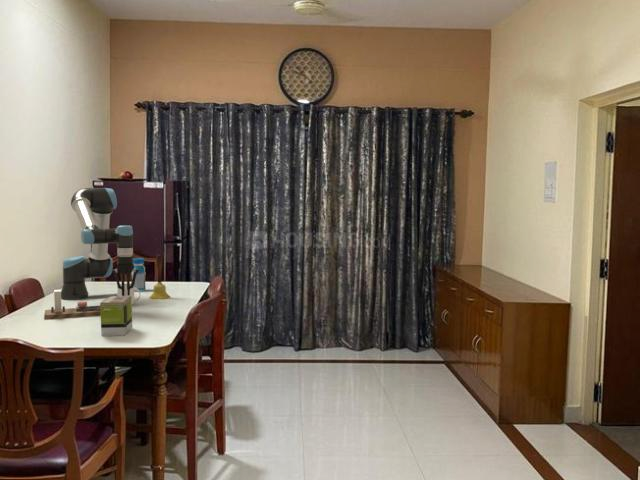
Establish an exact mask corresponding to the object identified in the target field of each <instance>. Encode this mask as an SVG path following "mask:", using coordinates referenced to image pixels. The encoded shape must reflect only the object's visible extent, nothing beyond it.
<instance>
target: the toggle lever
mask: <svg viewBox="0 0 640 480" xmlns="http://www.w3.org/2000/svg"><path fill="white" fill-rule="evenodd" d="M61 290H62V289H54V291H53V293H54V295H53V296H54V297H53V298H54V300H53V301H54V309H55V311H56V310H61V309H62V299H61Z"/></svg>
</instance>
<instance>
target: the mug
mask: <svg viewBox="0 0 640 480" xmlns="http://www.w3.org/2000/svg"><path fill="white" fill-rule="evenodd" d="M116 286H117V285H116ZM120 286H122V283H120ZM130 286H131V283H130ZM124 288H125V289H127V283H124ZM116 292H117V293H116V295H117V296H122V289H119V288H118V286H117V291H116ZM135 292H138V293H139V294H138V295H139V296H138V298H136V297H135ZM129 296H131V301H132V306H133V305H134V304H135V302H138V301H139V300H140V299H141V291H139V290H138V289H137V288H135V287H133V288H131V289H130V295H129Z"/></svg>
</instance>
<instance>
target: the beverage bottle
mask: <svg viewBox="0 0 640 480" xmlns="http://www.w3.org/2000/svg"><path fill="white" fill-rule="evenodd" d="M144 264H145V258H143V257H135V258H134V257H133V265H134V268H136V269H138V270H139V271H138V273H137V274H136V279H135V283H134V287H135V288H137V289H138V290H139V291H140V292H145V291H146V289H147V288H146V275H147V274H146V273H147V272H146V267H145V265H144ZM133 274H134V272H133V270H132V272H131V279H132V278H133Z"/></svg>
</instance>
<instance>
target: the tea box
mask: <svg viewBox="0 0 640 480" xmlns="http://www.w3.org/2000/svg"><path fill="white" fill-rule="evenodd" d="M99 306H100V311H101V316H100V333H101V337H123V336H124V337H125V336H126V334H128V332H130V331H131V330H132V329H133V307H132V306H133V305H132V301H131V296H118V295H117V296H116V295H115V296H111V295H110V296H108V297H107V298H105V299H104V300H102V301H101V302H100V303H99Z"/></svg>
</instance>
